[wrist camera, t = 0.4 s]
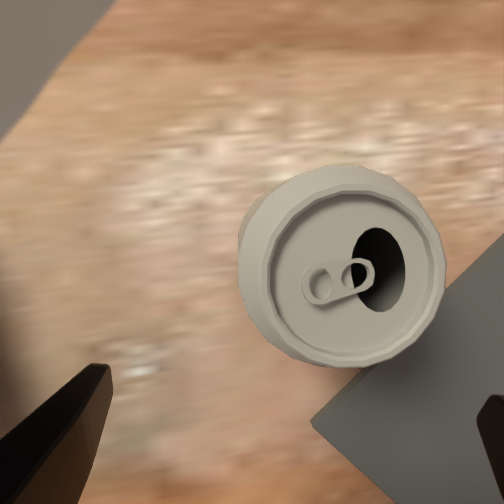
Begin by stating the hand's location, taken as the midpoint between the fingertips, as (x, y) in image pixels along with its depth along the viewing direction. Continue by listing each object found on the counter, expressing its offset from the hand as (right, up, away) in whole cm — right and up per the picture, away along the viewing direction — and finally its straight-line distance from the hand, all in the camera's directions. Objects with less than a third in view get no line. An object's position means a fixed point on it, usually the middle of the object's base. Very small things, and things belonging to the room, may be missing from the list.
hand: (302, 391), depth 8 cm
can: (+2, +4, +15) cm, 16 cm away
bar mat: (+16, -6, +17) cm, 24 cm away
